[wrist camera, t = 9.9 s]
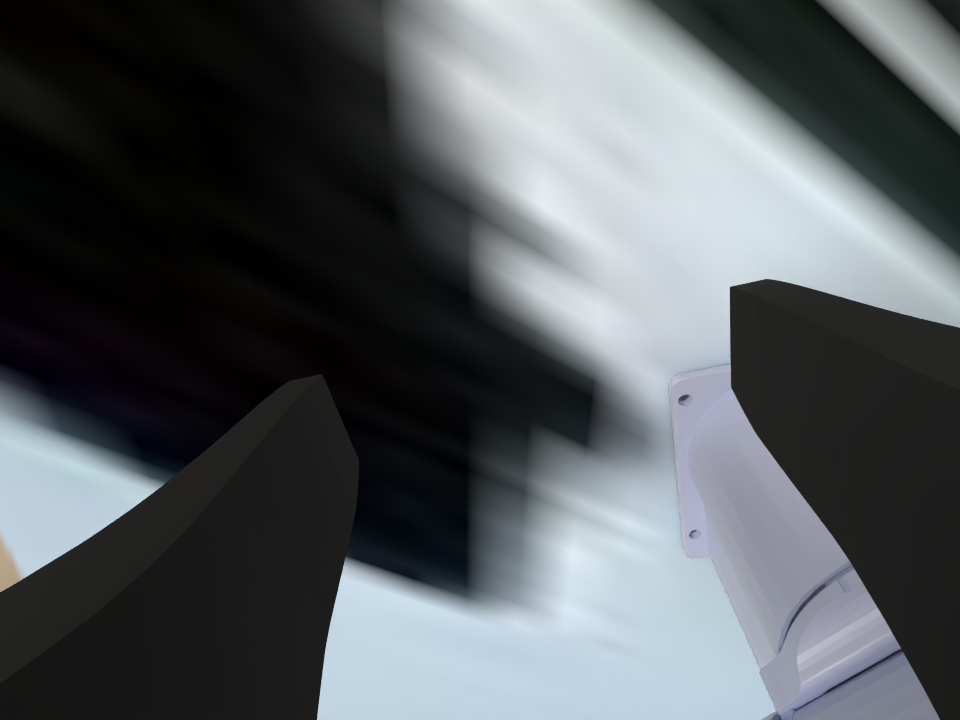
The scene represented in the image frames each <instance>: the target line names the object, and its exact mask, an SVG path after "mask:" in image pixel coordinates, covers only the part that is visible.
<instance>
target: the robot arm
mask: <svg viewBox="0 0 960 720" xmlns="http://www.w3.org/2000/svg"><path fill="white" fill-rule="evenodd" d="M730 345H731V364H729V365H724V366H718V367H713V368H708V369H702V370H697V371H691V372H686V373H681V374H678V375H676V376H674V377H673V378H672V379H671V381H670V382H669V399H670V410H671V422H672V433H673V445H674V456H675V468H676V480H677V491H678V503H679V514H680V526H681V538H682V547H683V550H684V552H685V555H686V556H687V557H690V558H702V557H708V556H710V558H711V560H712V562H713V564H714V567H715V569H716V571H717V573H718V576H719V578H720V580H721V583H722V585H723V587H724V589H725V592H726V594H727V596H728V598H729V601H730V603H731V605H732V607H733V610H734V612H735V614H736V616H737V619H738V621H739V623H740V625H741V628H742V630H743V632H744V634H745V637H746V639H747V641H748V643H749V646H750V648H751V650H752V652H753V655H754V657H755V659H756V661H757V664H758V666H759V668H760V671H759V673H760V675H761V677H762V680H763V682H764V684H765V686H766V689H767V691H768V693H769V696H770V698H771V700H772V702H773V705H774V707H775V709H776V712H774V713H772V714H770V715H769V716H767V717H765V718H763V719H762V720H960V328H958V327H954V326H950V325H945V324H941V323H937V322H932V321H928V320H924V319H919V318H916V317H912V316H908V315H904V314H900V313H896V312H892V311H889V310H885V309H881V308H877V307H874V306H870V305H867V304H863V303H860V302H856V301H852V300H849V299H845V298H842V297H838V296H835V295H831V294H828V293H824V292H821V291H817V290H814V289H810V288H806V287H802V286H799V285H795V284H791V283H786V282H782V281H777V280H770V279H765V280H760V281H756V282H751V283H746V284H742V285H737V286H732V287H730ZM683 395H689V397H688V398H687V399H686V400H683V401H679V398H680V397H681V396H683ZM358 473H359V460H358V458H357V455H356V453H355V451H354V448H353V446H352V444H351V441H350V439H349V437H348V434H347V432H346V429H345V427H344V425H343V422H342V420H341V418H340V415H339V413H338V411H337V408H336V406H335V404H334V401H333V399H332V397H331V394H330V392H329V389H328V387H327V385H326V382H325V380H324V378H323V375H322V374H321V375H316V376H312V377H307V378H302V379H298V380H293V381H289V382H288V383H286V384H285V385H283V386H282V387H280V388H279V389H278V390H276V391H275V392H274V393H272V394H271V395H270V396H269V397H268V398H266V399H265V400H264V401H263V402H262V403H260V404H259V405H258V406H257V407H256V408H254V409H253V410H252V411H251V412H250V413H249V414H248V415H246V416H245V417H244V418H243V419H242V420H241V421H240V422H238V423H237V424H236V425H235V426H234V427H233V428H231V429H230V430H229V431H228V432H227V433H226V434H225V435H223V436H222V437H221V438H220V439H219V440H218V441H217V442H215V443H214V444H213V445H212V446H211V447H210V448H208V449H207V450H206V451H205V452H204V453H202V454H201V455H200V456H199V457H197V458H196V459H195V460H194V461H192V462H191V463H190V464H189V465H188V466H186V467H185V468H184V469H183V470H181V471H180V472H179V473H178V474H176V475H175V476H174V477H173V478H172V479H170V480H169V481H168V482H167V483H165V484H164V485H163V486H162V487H161V488H159V489H158V490H157V491H155V492H154V493H153V494H151V495H150V496H149V497H147V498H146V499H145V500H143V501H142V502H141V503H139V504H138V505H137V506H135V507H134V508H132V509H131V510H130V511H128V512H127V513H125V514H124V515H122V516H121V517H120V518H118V519H117V520H115V521H114V522H112V523H111V524H109V525H108V526H107V527H105V528H104V529H102V530H101V531H99V532H98V533H96V534H95V535H93V536H92V537H90V538H89V539H87V540H86V541H84V542H83V543H81V544H80V545H78V546H76V547H75V548H73V549H71V550H70V551H68V552H66V553H65V554H63V555H62V556H60V557H58V558H57V559H55V560H53V561H52V562H50V563H48V564H47V565H45V566H44V567H42V568H40V569H39V570H37V571H35V572H34V573H32V574H31V575H29V576H27V577H26V578H24V579H22V580H21V581H19V582H17V583H16V584H14V585H12V586H11V587H9V588H7V589H6V590H4V591H2V592H0V720H317V713H318V704H319V696H320V688H321V679H322V671H323V663H324V654H325V648H326V642H327V637H328V632H329V626H330V621H331V617H332V613H333V608H334V604H335V600H336V595H337V591H338V587H339V582H340V578H341V574H342V569H343V565H344V561H345V556H346V552H347V547H348V543H349V538H350V534H351V529H352V525H353V520H354V515H355V510H356V500H357V489H358ZM693 530H696V531H695V532H691V531H693Z"/></svg>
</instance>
